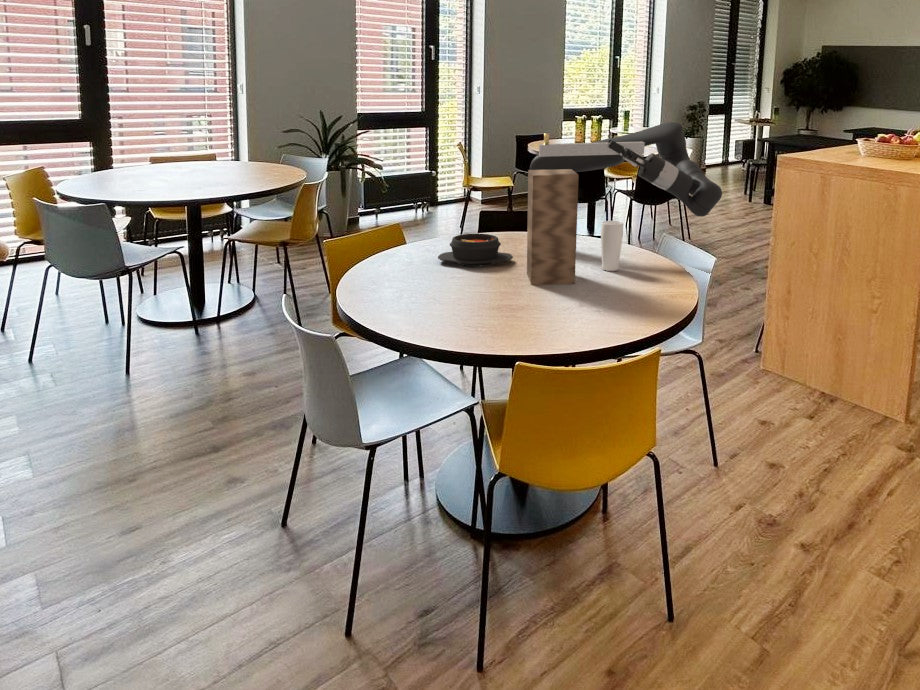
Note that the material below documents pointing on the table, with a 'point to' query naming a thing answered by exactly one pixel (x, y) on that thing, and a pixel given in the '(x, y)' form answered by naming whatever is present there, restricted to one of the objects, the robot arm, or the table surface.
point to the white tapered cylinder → (611, 244)
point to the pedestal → (552, 226)
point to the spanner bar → (584, 148)
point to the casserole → (475, 250)
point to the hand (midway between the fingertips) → (608, 143)
